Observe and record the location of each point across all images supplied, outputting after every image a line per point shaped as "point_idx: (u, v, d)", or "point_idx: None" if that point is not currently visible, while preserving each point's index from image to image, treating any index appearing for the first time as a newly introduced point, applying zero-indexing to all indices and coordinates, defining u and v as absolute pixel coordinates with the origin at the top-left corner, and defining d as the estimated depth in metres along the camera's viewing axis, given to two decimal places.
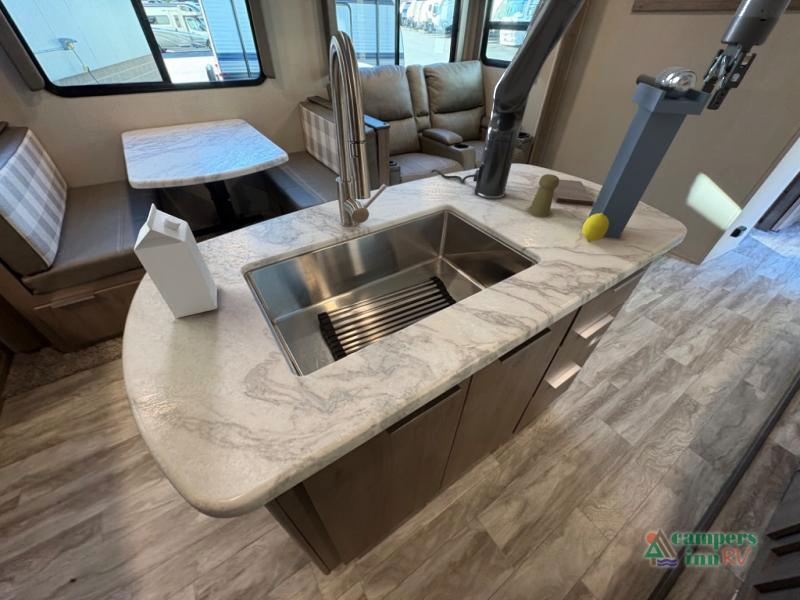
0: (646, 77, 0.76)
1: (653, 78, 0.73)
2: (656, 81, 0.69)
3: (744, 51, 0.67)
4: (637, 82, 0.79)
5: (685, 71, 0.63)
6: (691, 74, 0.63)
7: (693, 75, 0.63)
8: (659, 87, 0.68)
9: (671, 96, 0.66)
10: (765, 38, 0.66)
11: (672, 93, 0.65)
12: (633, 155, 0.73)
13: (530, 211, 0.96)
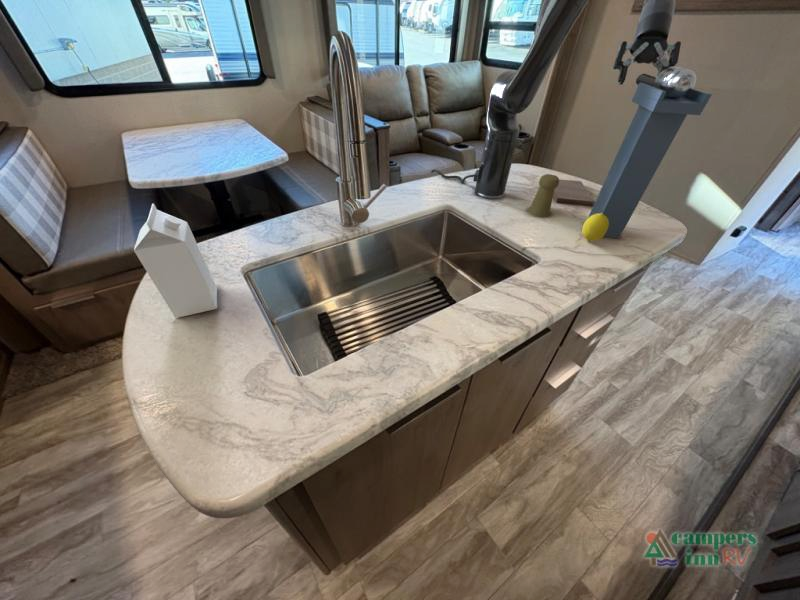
0: (646, 77, 0.76)
1: (653, 78, 0.73)
2: (656, 81, 0.69)
3: None
4: (637, 82, 0.79)
5: (684, 71, 0.63)
6: (691, 74, 0.63)
7: (692, 75, 0.63)
8: (659, 87, 0.68)
9: (671, 96, 0.66)
10: None
11: (672, 93, 0.65)
12: (633, 155, 0.73)
13: (530, 211, 0.96)
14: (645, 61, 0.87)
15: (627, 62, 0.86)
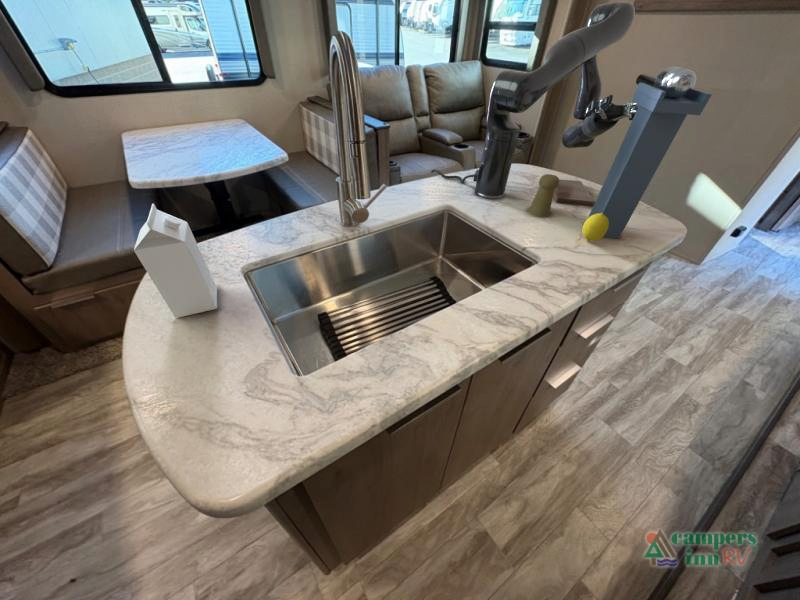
0: (646, 77, 0.76)
1: (653, 78, 0.73)
2: (656, 81, 0.69)
3: None
4: (637, 82, 0.79)
5: (684, 71, 0.63)
6: (691, 74, 0.63)
7: (693, 75, 0.63)
8: (659, 87, 0.68)
9: (671, 96, 0.66)
10: (611, 127, 0.97)
11: (672, 93, 0.65)
12: (633, 155, 0.73)
13: (530, 211, 0.96)
14: (616, 110, 0.91)
15: None
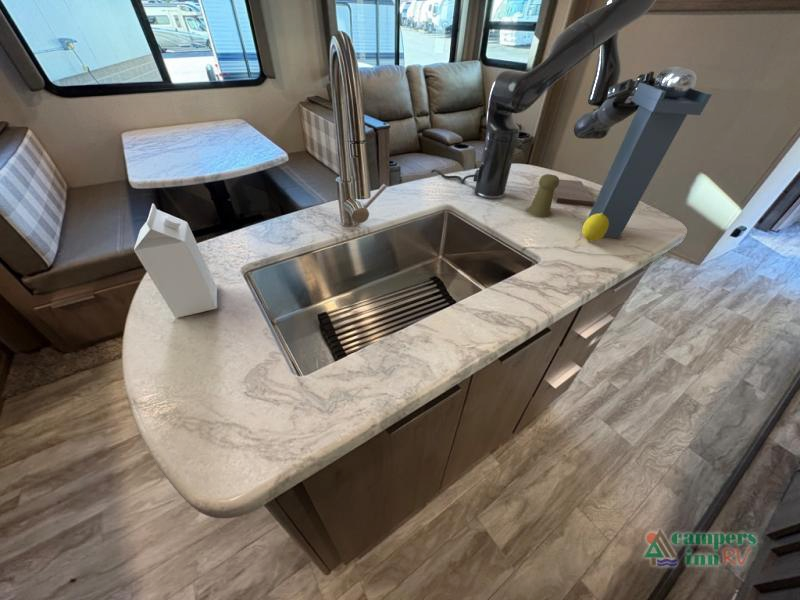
0: None
1: (653, 78, 0.73)
2: (656, 81, 0.69)
3: None
4: None
5: (684, 71, 0.63)
6: (691, 74, 0.63)
7: (693, 75, 0.63)
8: (659, 87, 0.68)
9: (671, 96, 0.66)
10: (632, 113, 0.86)
11: (672, 93, 0.65)
12: (633, 155, 0.73)
13: (530, 211, 0.96)
14: None
15: None
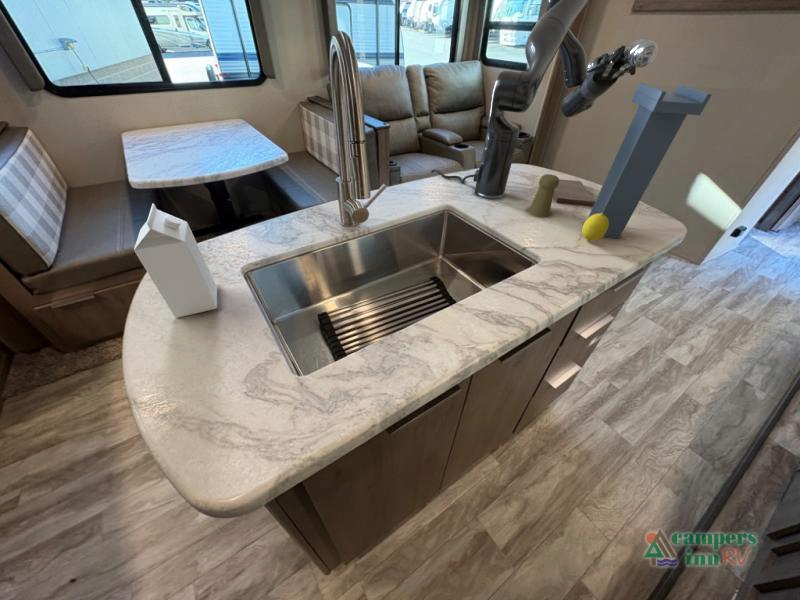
0: None
1: (625, 51, 0.83)
2: (625, 53, 0.79)
3: (623, 72, 0.93)
4: None
5: (647, 42, 0.73)
6: (653, 44, 0.72)
7: (654, 45, 0.72)
8: (627, 58, 0.78)
9: (637, 65, 0.75)
10: (610, 86, 0.96)
11: (637, 62, 0.75)
12: (633, 155, 0.73)
13: (530, 211, 0.96)
14: (615, 66, 0.89)
15: None
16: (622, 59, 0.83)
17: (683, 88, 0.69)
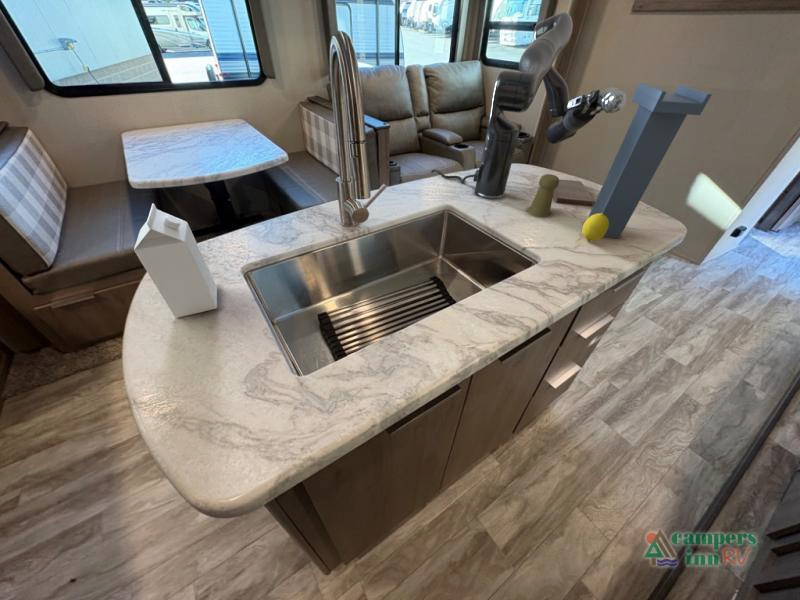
0: None
1: (599, 95, 0.92)
2: (599, 98, 0.88)
3: (600, 109, 1.02)
4: None
5: (616, 92, 0.82)
6: (621, 94, 0.81)
7: (622, 95, 0.81)
8: (600, 103, 0.87)
9: (608, 111, 0.84)
10: (589, 121, 1.05)
11: (608, 109, 0.84)
12: (633, 155, 0.73)
13: (530, 211, 0.96)
14: (592, 105, 0.99)
15: None
16: (597, 102, 0.92)
17: (683, 88, 0.69)
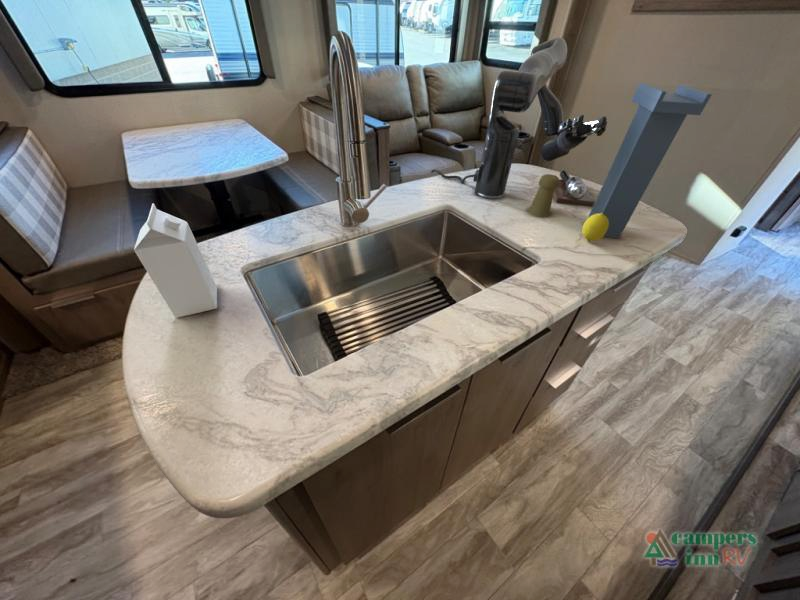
0: (564, 175, 1.11)
1: (567, 178, 1.09)
2: (565, 185, 1.04)
3: None
4: (560, 176, 1.14)
5: (578, 184, 0.98)
6: (582, 187, 0.98)
7: (583, 187, 0.98)
8: (567, 190, 1.03)
9: (573, 198, 1.01)
10: (581, 142, 1.09)
11: (573, 197, 1.00)
12: (633, 155, 0.73)
13: (530, 211, 0.96)
14: (583, 128, 1.03)
15: None
16: (565, 184, 1.08)
17: (683, 88, 0.69)
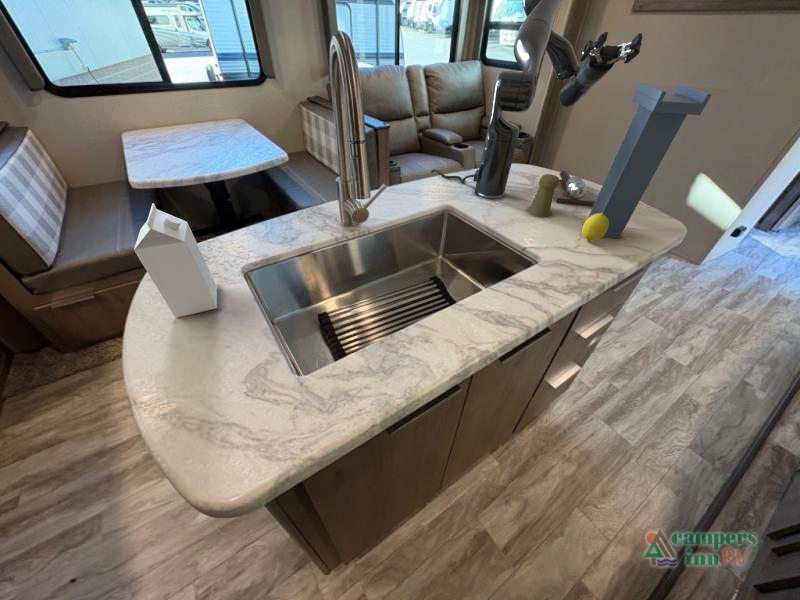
0: (564, 175, 1.11)
1: (567, 178, 1.08)
2: (566, 185, 1.04)
3: None
4: (560, 176, 1.14)
5: (579, 184, 0.98)
6: (583, 187, 0.98)
7: (584, 187, 0.98)
8: (567, 190, 1.03)
9: (573, 198, 1.01)
10: (606, 72, 0.98)
11: (573, 197, 1.00)
12: (633, 155, 0.73)
13: (530, 211, 0.96)
14: (611, 51, 0.91)
15: None
16: (565, 184, 1.08)
17: (683, 88, 0.69)
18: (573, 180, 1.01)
